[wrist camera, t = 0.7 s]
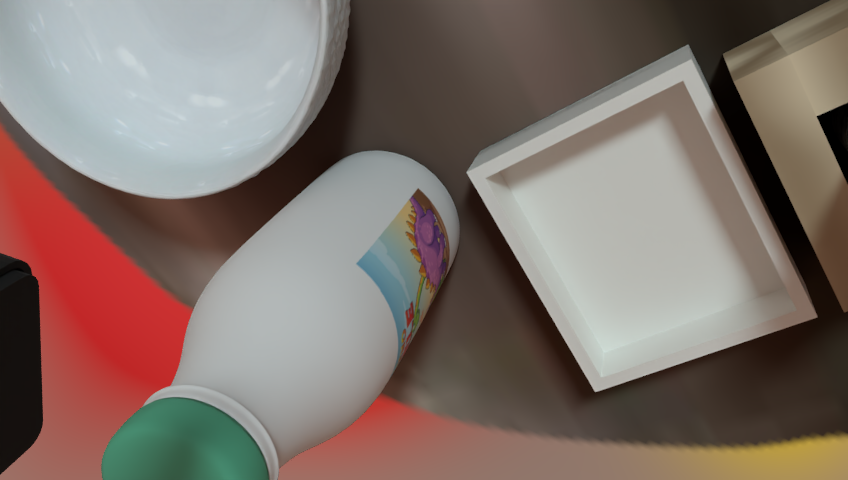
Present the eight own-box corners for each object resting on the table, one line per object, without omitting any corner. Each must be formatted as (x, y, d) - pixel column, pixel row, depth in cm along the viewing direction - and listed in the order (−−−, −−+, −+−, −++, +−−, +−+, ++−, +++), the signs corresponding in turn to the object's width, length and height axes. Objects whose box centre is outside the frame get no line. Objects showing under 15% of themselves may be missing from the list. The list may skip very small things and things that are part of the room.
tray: (688, 44, 32) (691, 59, 30) (805, 284, 35) (817, 317, 32) (480, 151, 36) (466, 172, 34) (599, 357, 39) (595, 392, 36)
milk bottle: (297, 251, 41) (31, 527, 24) (339, 120, 38) (63, 330, 20) (431, 313, 41) (260, 644, 23) (487, 187, 37) (335, 464, 19)
